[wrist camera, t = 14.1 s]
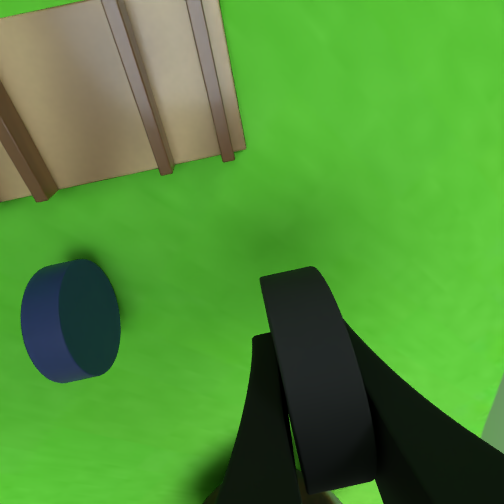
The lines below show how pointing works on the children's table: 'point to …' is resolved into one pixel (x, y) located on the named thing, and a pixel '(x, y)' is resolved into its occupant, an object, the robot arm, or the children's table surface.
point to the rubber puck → (320, 381)
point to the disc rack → (112, 92)
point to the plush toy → (325, 500)
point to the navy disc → (70, 321)
